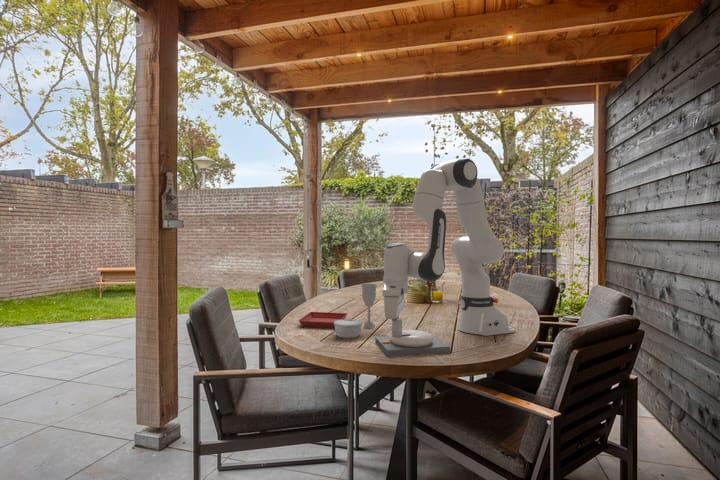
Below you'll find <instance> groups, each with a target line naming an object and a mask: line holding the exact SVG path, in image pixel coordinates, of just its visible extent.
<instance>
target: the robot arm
mask: <svg viewBox="0 0 720 480" xmlns="http://www.w3.org/2000/svg"><path fill="white" fill-rule="evenodd" d="M446 190H453V191H454V193H455V194H454V195H455V205H456V213H457V219H458V220H457V221H458V223H459V225H460V226H461V227H462V229H464V230H465V233H466V234H467V235H463V236H460V237H456V238H455V239H454V240H453V241H452V242H451V245H450V246H451V247H450V252H451V254H452V256H453V257H454V258H455V259H456V261H457V264H458V267H459V271H460V275H461V295H460V319H459V322H458V327H457V330H458V331H460V332H462V333H467V334H472V335H480V336H496V335H502V334H503V335H504V334H510V333H515V329H514V327H512V326H510V325H509V319H508V317H507V315H506V314H505V313H504V312H502V311H501V310H500V309H499V308H497V307H496V306H495V304H499V301H500V300H499V298H497V297H492V296H491V290H490V289H491V278H490V276H489V275H488V274H487V272H486V271H485V269H484V266H483V264H485V265H486V264H487V265H488V264H494V263H498V262H500V261H501V259H502V258H503V256H504V254H505V247H504V244H503V242H502V241H501V240H500V239H499V238H498V237H497V236H496V235H495V233H494V232H493V230H492V228H491V226H490V223H489V221H488V218H487V212H486V207H485V206H486V205H485V198H484V193H483V189H482V186H481V182H480V180H479V178H478V168H477V165H476V163H475V162H474V161H473V160H472V159H471V158H467V157H464V158H463V157H461V158H457V159H451V160H447V161H444V162H441V163H437V164H435V165H433V166H431V167H430V168H428V169H427V170H425V171H423V172H422V174H421V176H420V177H419V180H418V182H417V185H416V189H415V192H414V196H413V200H412V211H413V213H414V215H415V216H416V217H417V218H418V219H419V220H421V221H423V222H425V223H426V224H427V226H428V228H429V235H428V245H427V246H428V247H427V250H426V251H424V252H423V251H416V250H413V249H412V248H410V247H409V246H408V245H407V243H406V242H398V241H397V242H392V243H389V244H387V245H386V246H385V248H384V252H383V262H382V264H383V271H384V275H383V278H382V279H383V280H382V281H383V282H382V291H381V295H382V297H383V304H384V308H383V309H384V317H385V318H386V319H390V320H392V319H396V318H400V314H401V313H402V311H403V310H404V308H405V295H406V294H408V293H409V279H408V278H409V277H410V278H414V279H421V280H423V281H424V280H425V281H428V282H436V281H438V280H439V279H440V278H441V277H442V276H443V275H444V272H445V271H446V261H445V248H446V246H445V245H446V234H447V217H446V215H447V214H446V213H445V211H444V208H443V205H444V200H445V192H446ZM494 303H495V304H494Z"/></svg>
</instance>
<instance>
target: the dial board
mask: <svg viewBox="0 0 720 480" xmlns="http://www.w3.org/2000/svg"><path fill="white" fill-rule="evenodd" d="M432 335H433V343H432V344H430V345H427V346H421V347H407V346H400V345H396V344H393V343H392V342H391V341H390V335H388V336H375V339H374V341H375V342H374V343H375V344H376V345H377V346H378V347H379V349H380V350H381V351H382V352H383V353H384V354H385V356H386V357H397V356H398V357H401V356H414V355H417V356H418V355H430V354H432V355H433V354H447V353H451V346H450V345H448V344H447V343H445V342H444V341H442V340H441V339H440V338H438V336H436V335H434V334H432Z"/></svg>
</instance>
